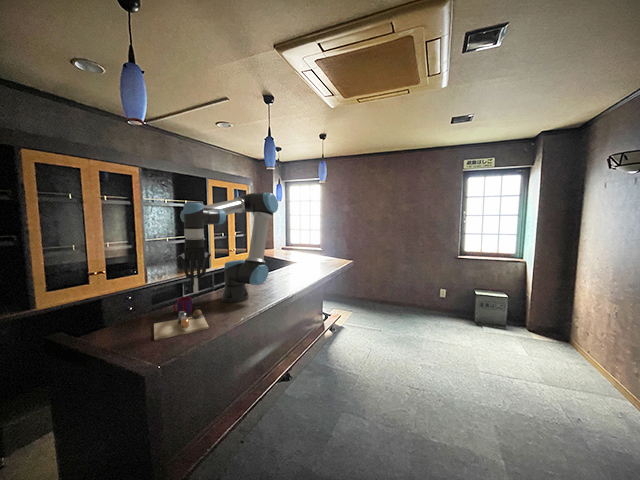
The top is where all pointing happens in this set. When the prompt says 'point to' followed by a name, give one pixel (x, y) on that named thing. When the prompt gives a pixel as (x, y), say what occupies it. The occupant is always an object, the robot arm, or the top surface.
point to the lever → (183, 320)
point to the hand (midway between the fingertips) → (195, 292)
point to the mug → (183, 304)
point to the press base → (174, 326)
